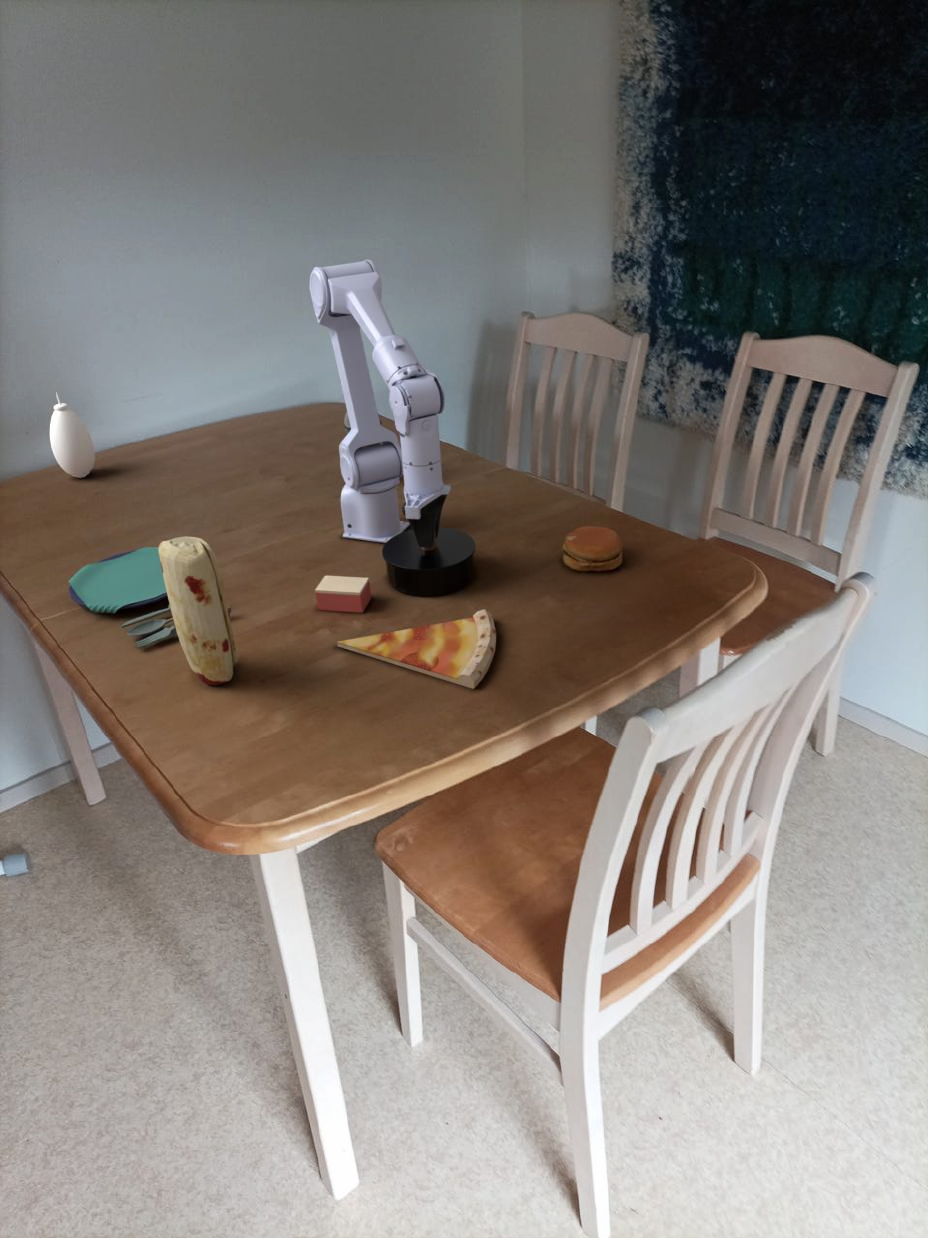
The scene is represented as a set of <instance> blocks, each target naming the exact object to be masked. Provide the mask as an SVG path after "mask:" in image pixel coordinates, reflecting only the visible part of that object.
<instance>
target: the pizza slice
mask: <svg viewBox="0 0 928 1238" xmlns="http://www.w3.org/2000/svg"><path fill="white" fill-rule="evenodd" d="M336 645H337V646H336V647H339V648H341V649H345V650H348V651H352V652H355V653H358V654H360V655H364V656H367V657H370V658H373V659H377V660H380V661H383V662H387V663H390V664H393V665H395V666H399V667H402V668H405V669H408V670H412V671H415V672H418V673H421V674H425V675H428V676H431V677H434V678H437V679H440V680H443V681H447V682H450V683H453V684H456V685H459V686H463V687H465V688H469V689H472V690H473V689H475V688H476V687H478V685H479V684H480V682H481V681H482V680H483V679H484V677H485V675H486V674H487V672H488V671H489V668H490V666H491V663H492V661H493V659H494V655H495V653H496V646H497V630H496V627H495V622H494V617H493V615H492V614H491V612H490V611H488V610H487V609H486V608H484V609H481V610H477V611H476V612H475V613H474V614H473V615H472V617H468V618H462V619H456V620H451V621H445V622H440V623H434V624H429V625H422V626H418V627H412V628H406V629H401V630H396V631H395V630H394V631H389V632H384V633H378V634H372V635H367V636H361V637H356V638H350V639H346V640H340V641H339V640H338V641H336Z"/></svg>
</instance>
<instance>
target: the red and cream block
mask: <svg viewBox="0 0 928 1238" xmlns="http://www.w3.org/2000/svg"><path fill="white" fill-rule="evenodd" d="M314 591H315V592H314V593H315V598H316V603H317V604H316V605H317V610H318V611H330V612H331V611H332V612H344V613H357V614H358V613H359V614H363V613H364V611H365V609H366V607H367V606H368V604H369V602H370V601H371V600H372V594H371V593H372V592H371V584H370V578H369V577H360V576H359V577H358V576H342V575H326V574H325V575H324V576H323V578H322V579H321V581H320V583H318V585H317V586H316V588H314Z"/></svg>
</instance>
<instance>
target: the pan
mask: <svg viewBox="0 0 928 1238" xmlns="http://www.w3.org/2000/svg"><path fill="white" fill-rule="evenodd" d="M385 566H386V568H385V569H386V577H387V580H388V583H389V585H390V587H392V589H394V590H395V591H396V592H399V593H401V594H403V595H407V596H412V597H420V598H429V597H432V598H433V597H440V596H446V595H449V594H452V593H455V592H458V591H460V590H461V589H463V588H465V587H466V586H468V585H469V584H470V583H471V582H472V580H473V579H474V576H475V575H474V574H475V572H474V570H475V567H474V566H475V565H474V555H473V556H472V557H471V558H470V559H469V560H467V561H466V562H464V563H463V564H461V565H458V566H456V567H453V568H450V569H446V570H442V571H435V572H411V571H405V570H401V569H398V568H395V567H393V566H391V565H389V564H388V563H387V562H386V561H385Z"/></svg>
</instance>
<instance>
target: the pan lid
mask: <svg viewBox="0 0 928 1238" xmlns="http://www.w3.org/2000/svg"><path fill="white" fill-rule="evenodd" d="M476 547H477V546H476V542H475V540H474V539H473V537H472V536H471V535H470V534H468V533H466V532H464V531H462V530H459V529H455V528H451V527H445V526H444V527H443V526H441V527H440V526H439V531H438V536H437V538H436V535H435V534H434V543H433V546H432V547H431V548H429V547H419V545H418V542H417V540H416V537H415V534H414V531H413V529H409V530H405V531H403V532H402V533H400V534H398V535H396V536H394V537H392V538H391V539H389V540H388V541H387V542H386V543H383V546H382V549H381V555H382V558H383V560H384V561H385V563H386V562H387V563H388V564H389V565H391V566H393V567H395V568H398V569H401V570H405V571H411V572H435V571H442V570H446V569H450V568H453V567H456V566H458V565H461V564H463V563H464V562H466V561H467V560H469V559H470V558H471V557H472V556H473V557H474V554H475V553H476Z"/></svg>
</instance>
